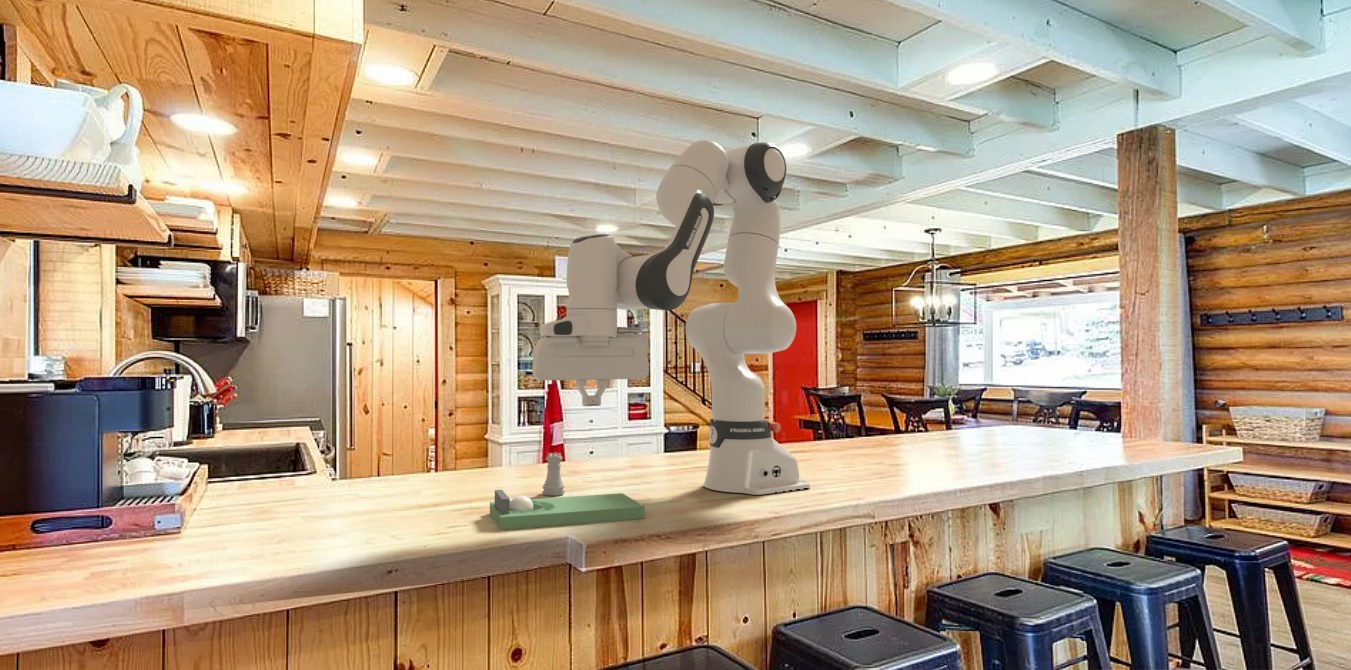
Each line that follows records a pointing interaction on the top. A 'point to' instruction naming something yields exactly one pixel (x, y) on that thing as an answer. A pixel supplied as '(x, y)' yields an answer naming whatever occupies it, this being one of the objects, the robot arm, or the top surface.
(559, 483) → the rook chess piece
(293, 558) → the top surface
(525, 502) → the ball
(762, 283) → the robot arm
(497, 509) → the green board
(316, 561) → the top surface
